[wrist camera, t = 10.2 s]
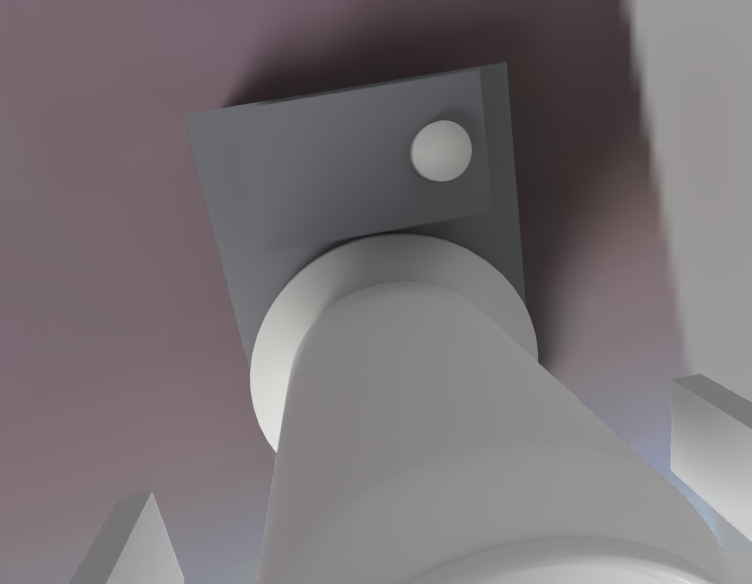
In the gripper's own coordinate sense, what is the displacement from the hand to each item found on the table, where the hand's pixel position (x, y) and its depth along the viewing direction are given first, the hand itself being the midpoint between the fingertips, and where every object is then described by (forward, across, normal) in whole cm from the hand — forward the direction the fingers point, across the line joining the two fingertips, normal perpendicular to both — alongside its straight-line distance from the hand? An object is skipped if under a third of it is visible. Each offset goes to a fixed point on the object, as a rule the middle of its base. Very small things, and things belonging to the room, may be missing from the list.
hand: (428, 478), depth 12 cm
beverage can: (+6, 0, 0) cm, 6 cm away
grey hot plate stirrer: (+11, 0, +2) cm, 11 cm away
